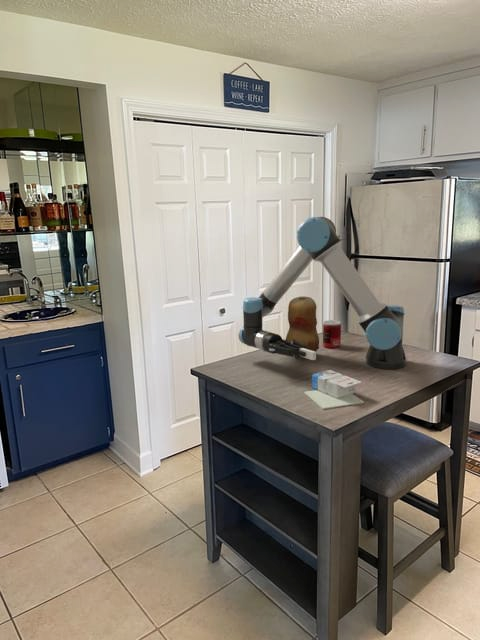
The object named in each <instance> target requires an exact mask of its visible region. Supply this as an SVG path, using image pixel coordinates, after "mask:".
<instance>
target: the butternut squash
mask: <svg viewBox="0 0 480 640" xmlns="http://www.w3.org/2000/svg"><path fill="white" fill-rule="evenodd" d="M317 308H318V307H317V303H316V301H315V300H314V299H313V298H312V297H309V296H298V297H294V298H292V299H291V300H290V301H289V302H288V310H287V320H288V321H287V322H288V325H289V328H288V330H287V334H286V337H285V340H286V341H288V342H291V341H292V340H295V341H296V342H298V343H300V344H303V345H305V346H306V349H308V350H311V351H315V352H316V353H317V351H318V350H319V349H320V338H319V337H320V336H319V333H318V330H317V325H318V320H317ZM299 358H302V357H301V356H299Z"/></svg>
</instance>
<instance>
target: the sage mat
mask: <svg viewBox="0 0 480 640" xmlns="http://www.w3.org/2000/svg"><path fill="white" fill-rule="evenodd" d="M303 393H304V394H305V395H306V396H307V397H309V399H311V400H312V401H313V402H314V403H315V404H316V405H317V406H319V407H320V408H321V409H322V410H329V409H336V408H342V407H348V406H354V405H360V404H365V401H363V400H362V399H361V398H359V397H358V396H356V395H355V394H354V393H352V394H349V395H346V396H343V397H340V398H335V397H333V396H331V395H328V394H326V393H324V392H321V391H319V390H316V389H314V390H308V391H307V390H306V391H304V392H303Z"/></svg>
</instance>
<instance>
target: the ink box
mask: <svg viewBox="0 0 480 640" xmlns="http://www.w3.org/2000/svg"><path fill="white" fill-rule="evenodd" d="M311 382H312V383H311V385H312V386H311V387H312V389H314V390H319V391H321V392H324V393H326V394H328V395H331V396H333V397H335V398H340V397H343V396H346V395H349V394H354V393H356V385H358V384H361V383H362V381H360V380H358V379H355V378H352V377H350V376H348V375H345V374H342V373H339V372H336V371H334V370H331V369H328V370H325V371H320V372H317V373H314V374H312V375H311Z"/></svg>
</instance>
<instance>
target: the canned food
mask: <svg viewBox="0 0 480 640" xmlns="http://www.w3.org/2000/svg"><path fill="white" fill-rule="evenodd" d="M341 338H342V322H341V321H339V320H334V319H333V320H331V319H330V320H329V319H328V320H325V321H323V323H322V347H323V348H325V349H329V350H331V349H332V350H334V349H335V350H336V349H339V348H340V347H341V341H342V340H341Z"/></svg>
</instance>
